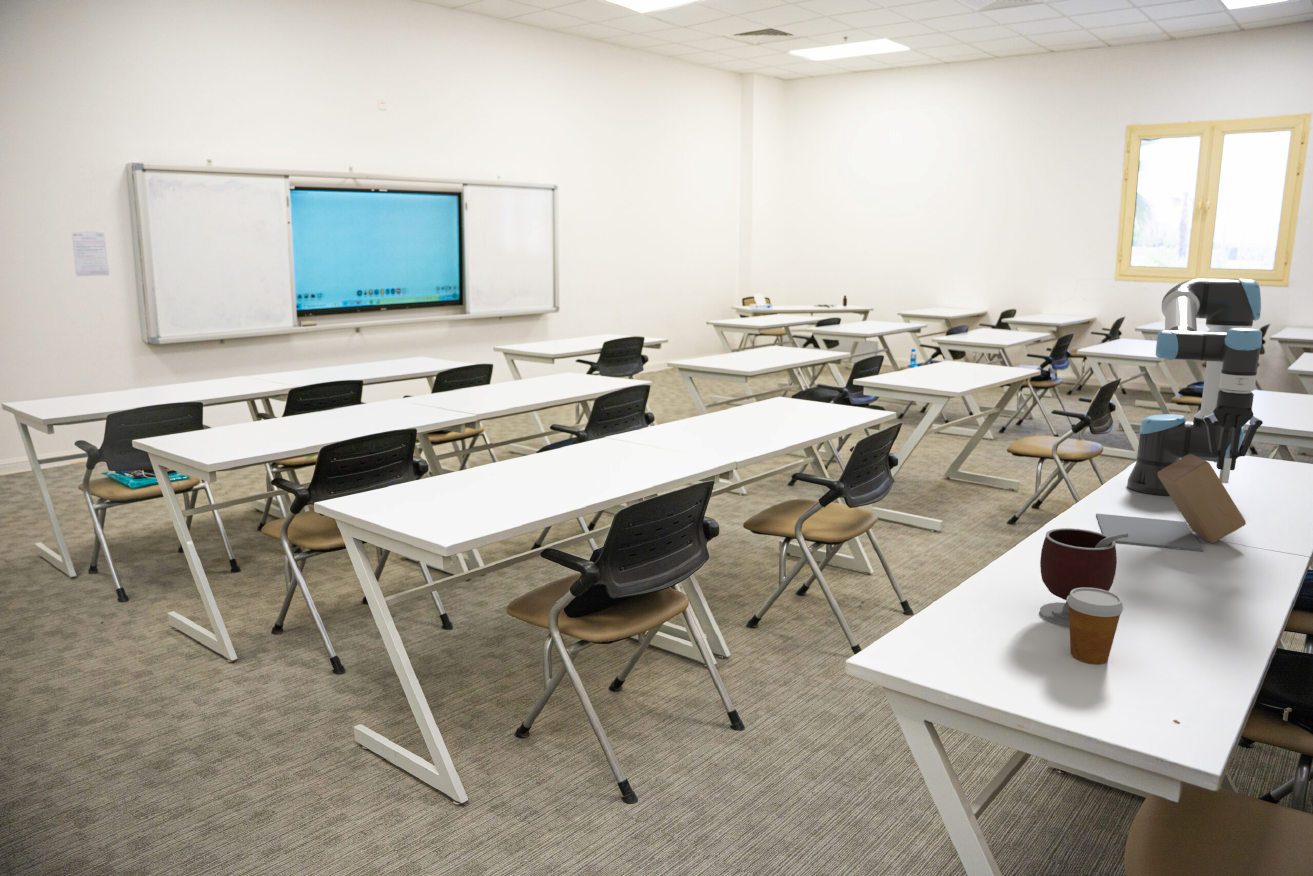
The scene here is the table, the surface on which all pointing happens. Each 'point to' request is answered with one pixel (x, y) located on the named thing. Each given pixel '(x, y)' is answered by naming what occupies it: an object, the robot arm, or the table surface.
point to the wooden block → (1201, 498)
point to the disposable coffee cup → (1093, 623)
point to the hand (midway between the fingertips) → (1223, 481)
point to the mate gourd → (1075, 566)
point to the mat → (1149, 531)
